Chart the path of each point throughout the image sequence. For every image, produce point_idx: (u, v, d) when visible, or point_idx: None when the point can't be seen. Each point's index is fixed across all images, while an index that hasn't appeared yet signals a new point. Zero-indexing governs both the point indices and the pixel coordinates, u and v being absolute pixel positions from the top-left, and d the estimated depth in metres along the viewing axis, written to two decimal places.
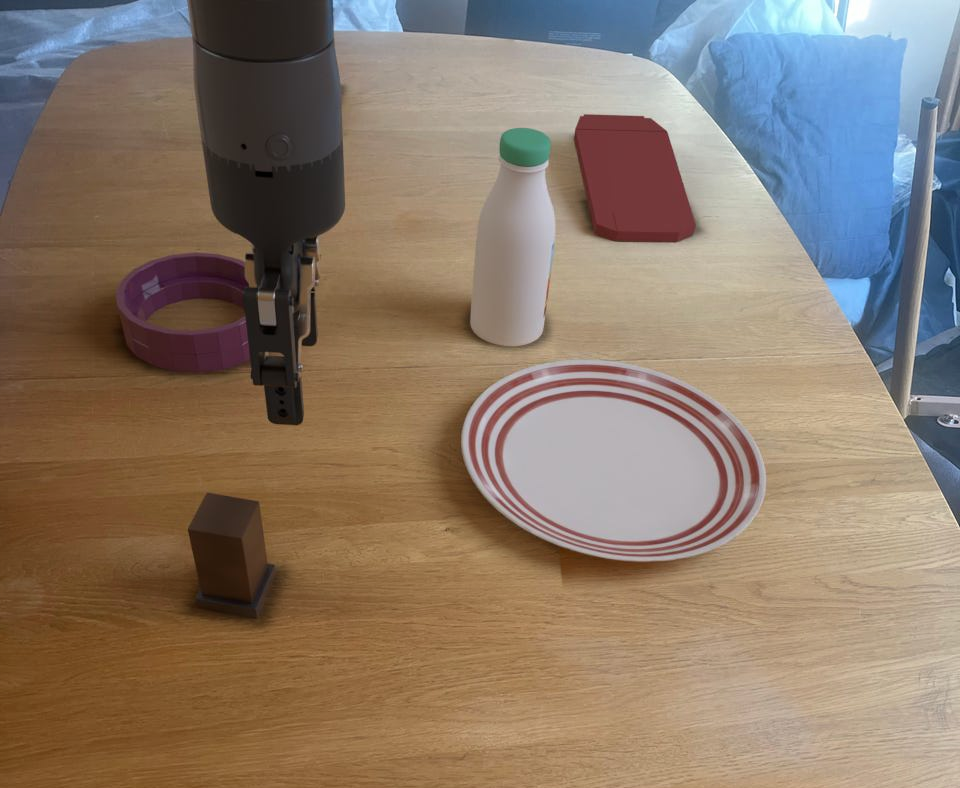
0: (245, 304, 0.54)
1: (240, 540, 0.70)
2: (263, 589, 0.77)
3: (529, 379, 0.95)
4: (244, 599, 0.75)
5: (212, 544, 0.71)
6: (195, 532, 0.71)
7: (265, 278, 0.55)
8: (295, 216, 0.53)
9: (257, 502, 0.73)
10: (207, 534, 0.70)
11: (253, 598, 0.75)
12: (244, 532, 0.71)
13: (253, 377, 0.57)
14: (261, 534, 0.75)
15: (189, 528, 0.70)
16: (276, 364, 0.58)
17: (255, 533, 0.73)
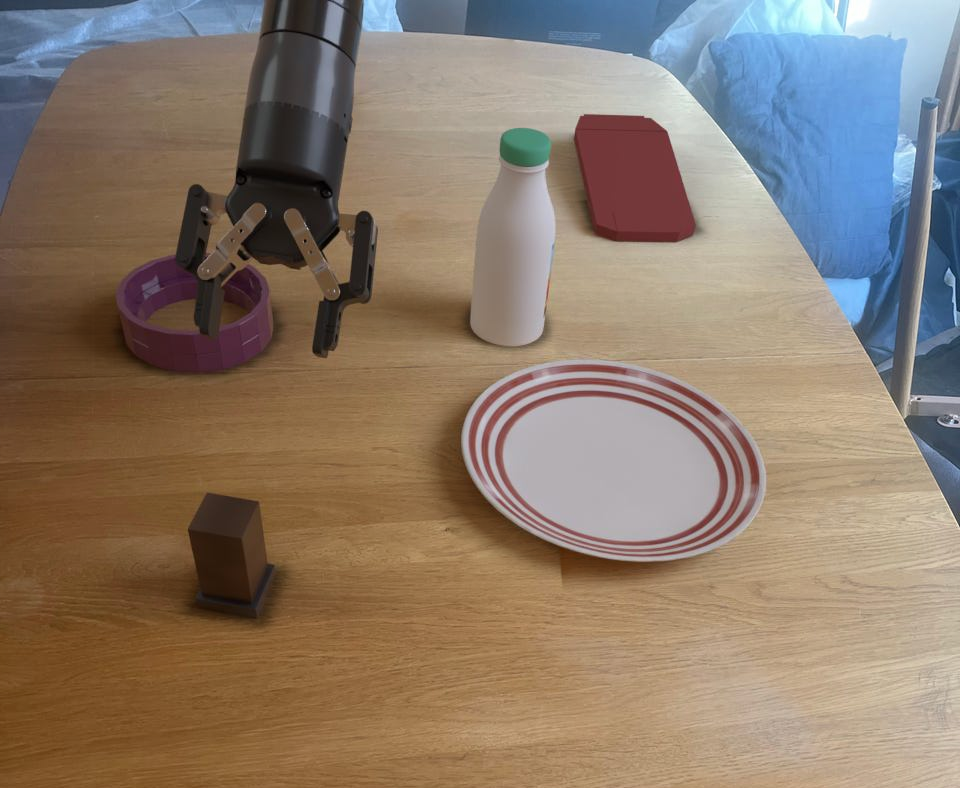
0: (372, 220, 0.71)
1: (240, 540, 0.70)
2: (263, 589, 0.77)
3: (529, 379, 0.95)
4: (244, 599, 0.75)
5: (212, 544, 0.71)
6: (195, 532, 0.71)
7: None
8: None
9: (257, 502, 0.73)
10: (207, 534, 0.70)
11: (253, 598, 0.75)
12: (244, 532, 0.71)
13: (366, 285, 0.72)
14: (261, 534, 0.75)
15: (189, 528, 0.70)
16: None
17: (255, 533, 0.73)
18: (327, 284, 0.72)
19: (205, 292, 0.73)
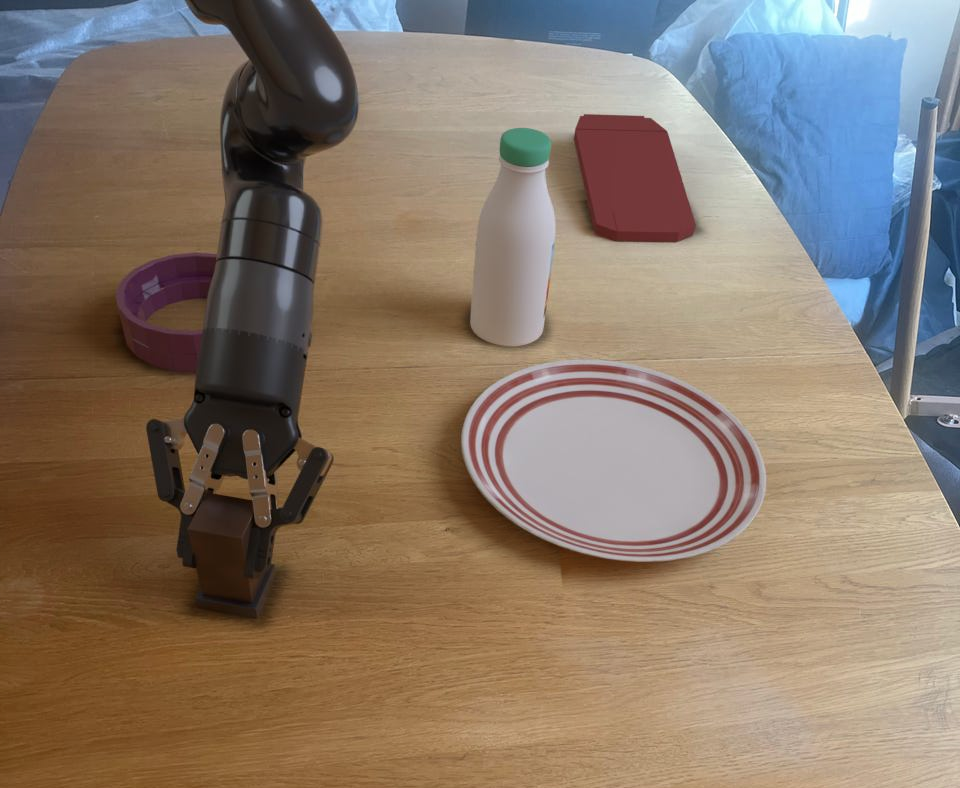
0: (325, 460, 0.71)
1: (240, 540, 0.70)
2: (263, 589, 0.77)
3: (529, 379, 0.95)
4: (244, 599, 0.75)
5: (212, 544, 0.71)
6: (195, 532, 0.71)
7: (306, 441, 0.72)
8: None
9: None
10: (207, 534, 0.70)
11: (253, 598, 0.75)
12: (244, 532, 0.71)
13: (297, 516, 0.71)
14: None
15: (189, 528, 0.70)
16: None
17: None
18: (261, 510, 0.71)
19: (188, 526, 0.72)
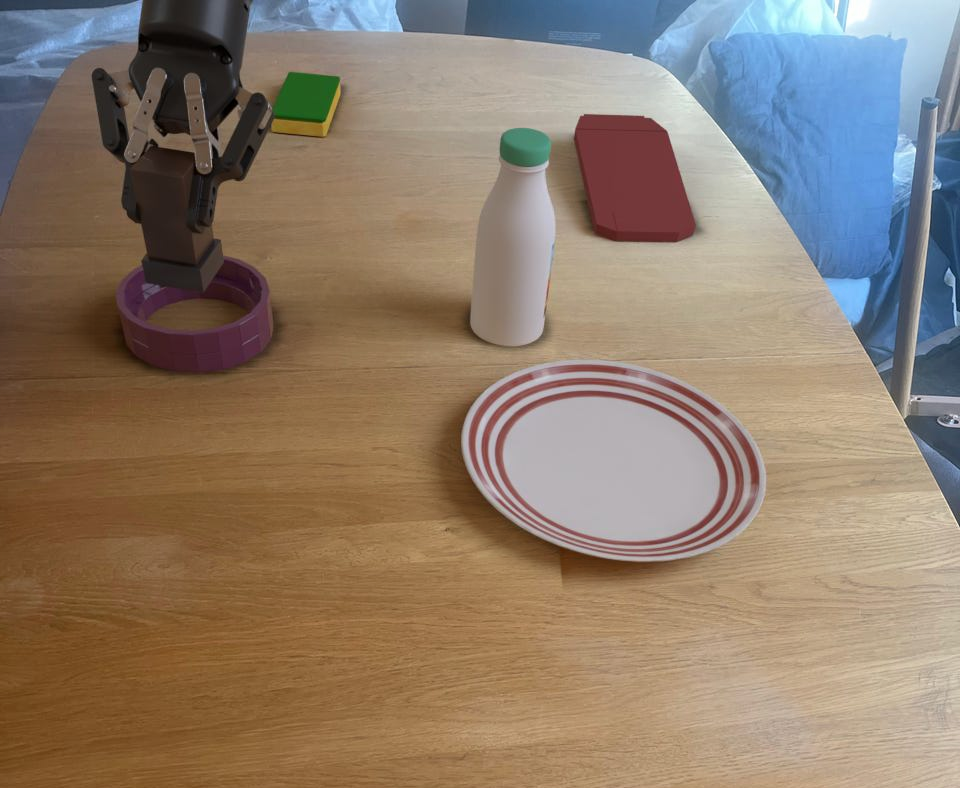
0: (264, 105, 0.73)
1: (181, 180, 0.72)
2: (208, 256, 0.79)
3: (529, 379, 0.95)
4: (188, 260, 0.77)
5: (155, 188, 0.73)
6: (137, 173, 0.73)
7: (247, 91, 0.74)
8: None
9: None
10: (149, 175, 0.73)
11: (197, 261, 0.78)
12: (185, 174, 0.73)
13: (237, 162, 0.73)
14: None
15: (131, 169, 0.72)
16: None
17: None
18: (202, 156, 0.74)
19: None
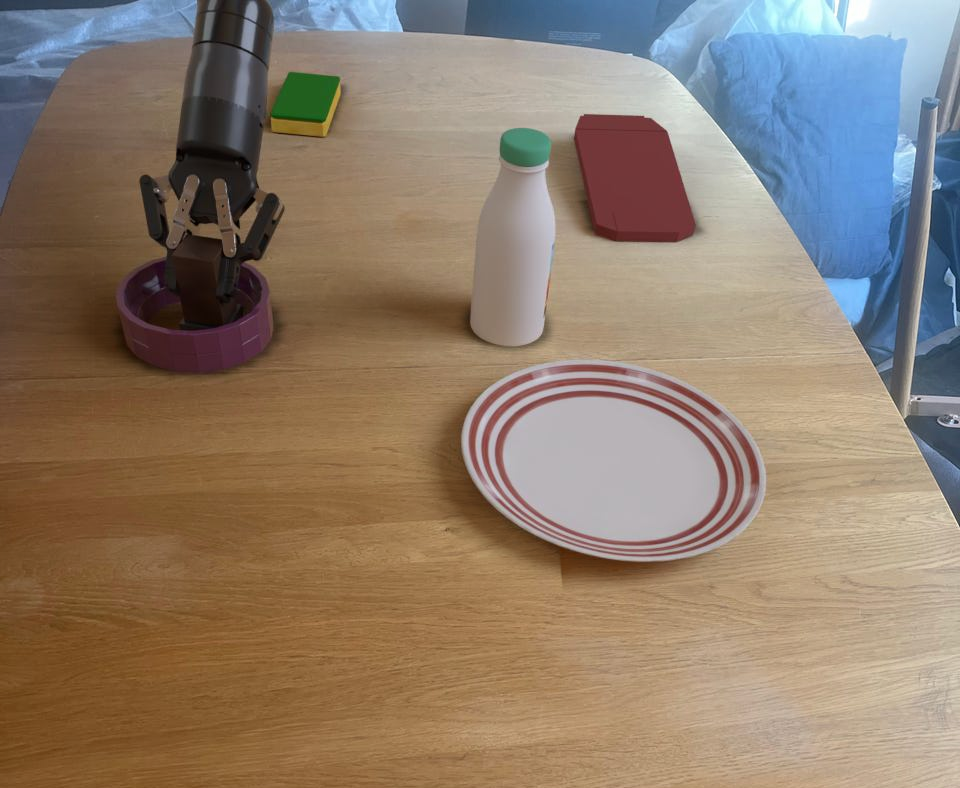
0: (277, 203, 0.92)
1: (212, 263, 0.92)
2: (232, 318, 0.98)
3: (529, 379, 0.95)
4: (217, 323, 0.97)
5: (191, 269, 0.93)
6: (177, 258, 0.92)
7: (263, 191, 0.93)
8: (259, 156, 0.95)
9: None
10: (187, 259, 0.92)
11: (224, 323, 0.97)
12: (215, 258, 0.92)
13: (256, 247, 0.93)
14: None
15: (173, 255, 0.92)
16: None
17: None
18: (228, 243, 0.93)
19: None
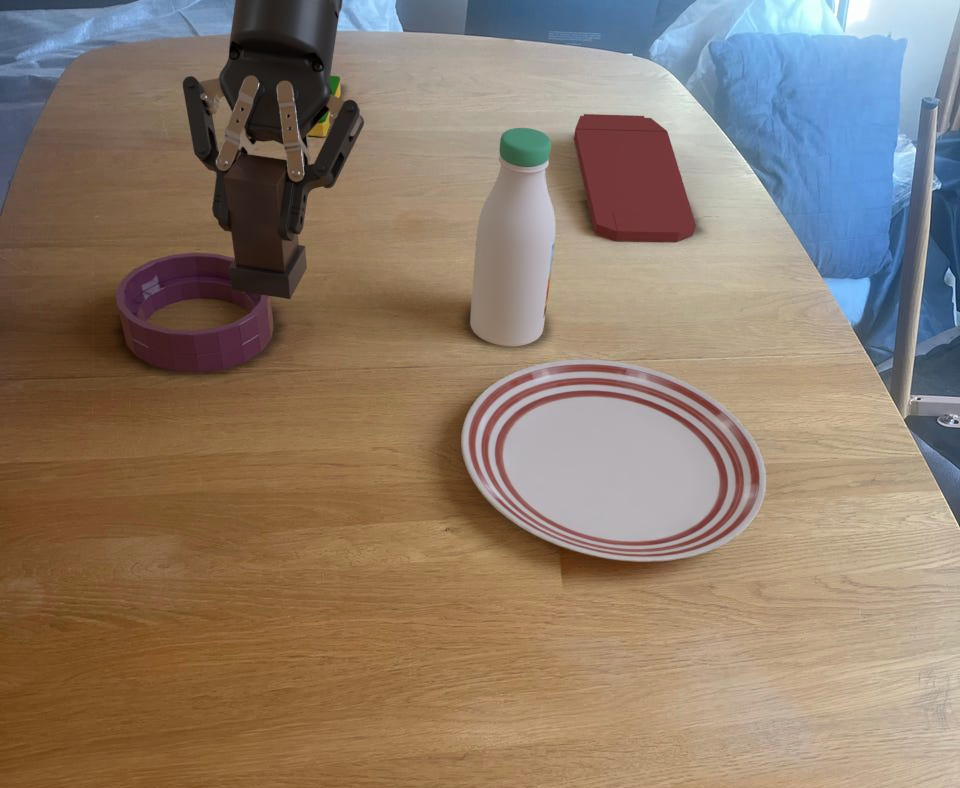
0: (357, 112, 0.73)
1: (275, 188, 0.73)
2: (295, 262, 0.79)
3: (529, 379, 0.95)
4: (277, 267, 0.77)
5: (248, 195, 0.73)
6: (231, 181, 0.73)
7: (338, 98, 0.74)
8: None
9: None
10: (243, 183, 0.73)
11: (285, 267, 0.78)
12: (279, 181, 0.73)
13: (329, 169, 0.74)
14: None
15: (225, 176, 0.73)
16: None
17: None
18: (295, 164, 0.74)
19: (223, 183, 0.74)
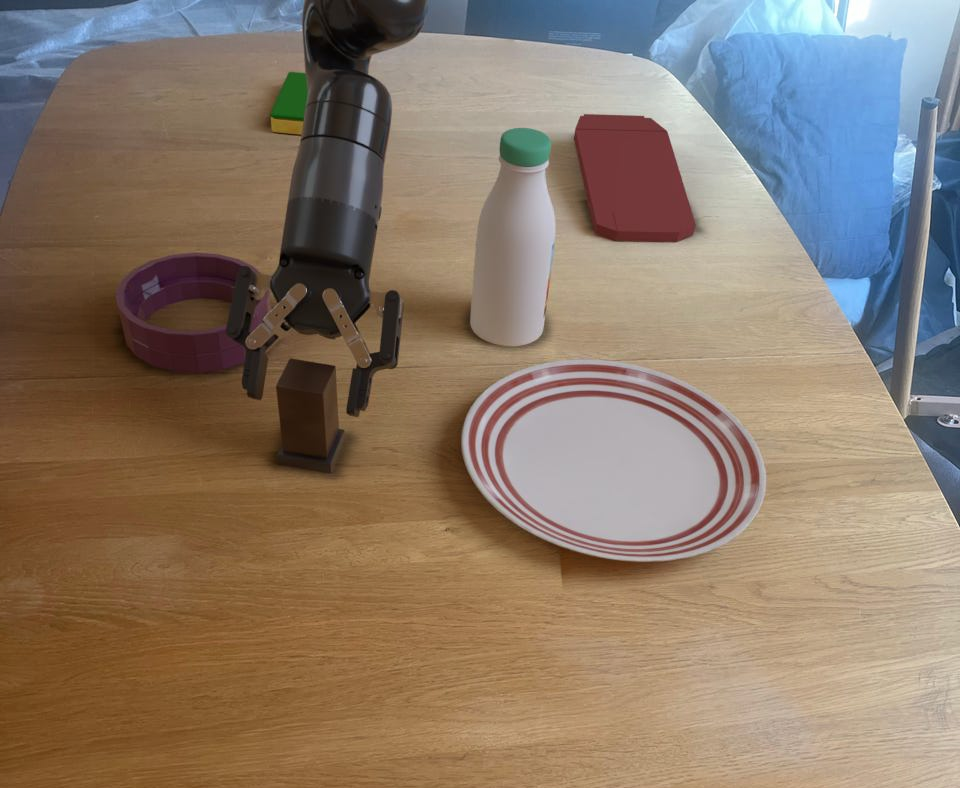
0: (399, 298, 0.81)
1: (321, 395, 0.81)
2: (336, 448, 0.88)
3: (529, 379, 0.95)
4: (320, 455, 0.86)
5: (296, 400, 0.82)
6: (282, 389, 0.82)
7: None
8: None
9: (334, 366, 0.84)
10: (293, 390, 0.82)
11: (328, 455, 0.87)
12: (325, 389, 0.82)
13: (394, 354, 0.82)
14: (336, 397, 0.86)
15: (277, 385, 0.82)
16: None
17: (332, 394, 0.84)
18: (360, 353, 0.82)
19: (252, 360, 0.83)
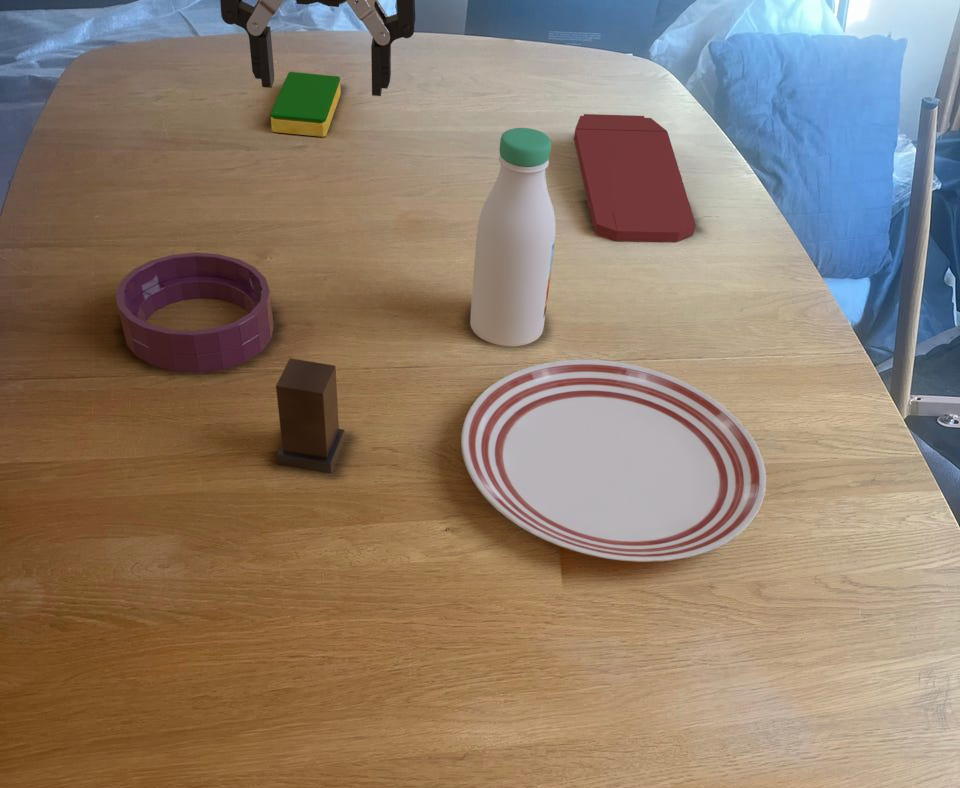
0: None
1: (321, 395, 0.81)
2: (336, 448, 0.88)
3: (529, 379, 0.95)
4: (320, 455, 0.86)
5: (296, 400, 0.82)
6: (282, 389, 0.82)
7: None
8: None
9: (334, 366, 0.84)
10: (293, 390, 0.82)
11: (328, 455, 0.87)
12: (325, 389, 0.82)
13: None
14: (336, 397, 0.86)
15: (277, 385, 0.82)
16: None
17: (332, 394, 0.84)
18: (376, 29, 0.74)
19: (259, 48, 0.75)
